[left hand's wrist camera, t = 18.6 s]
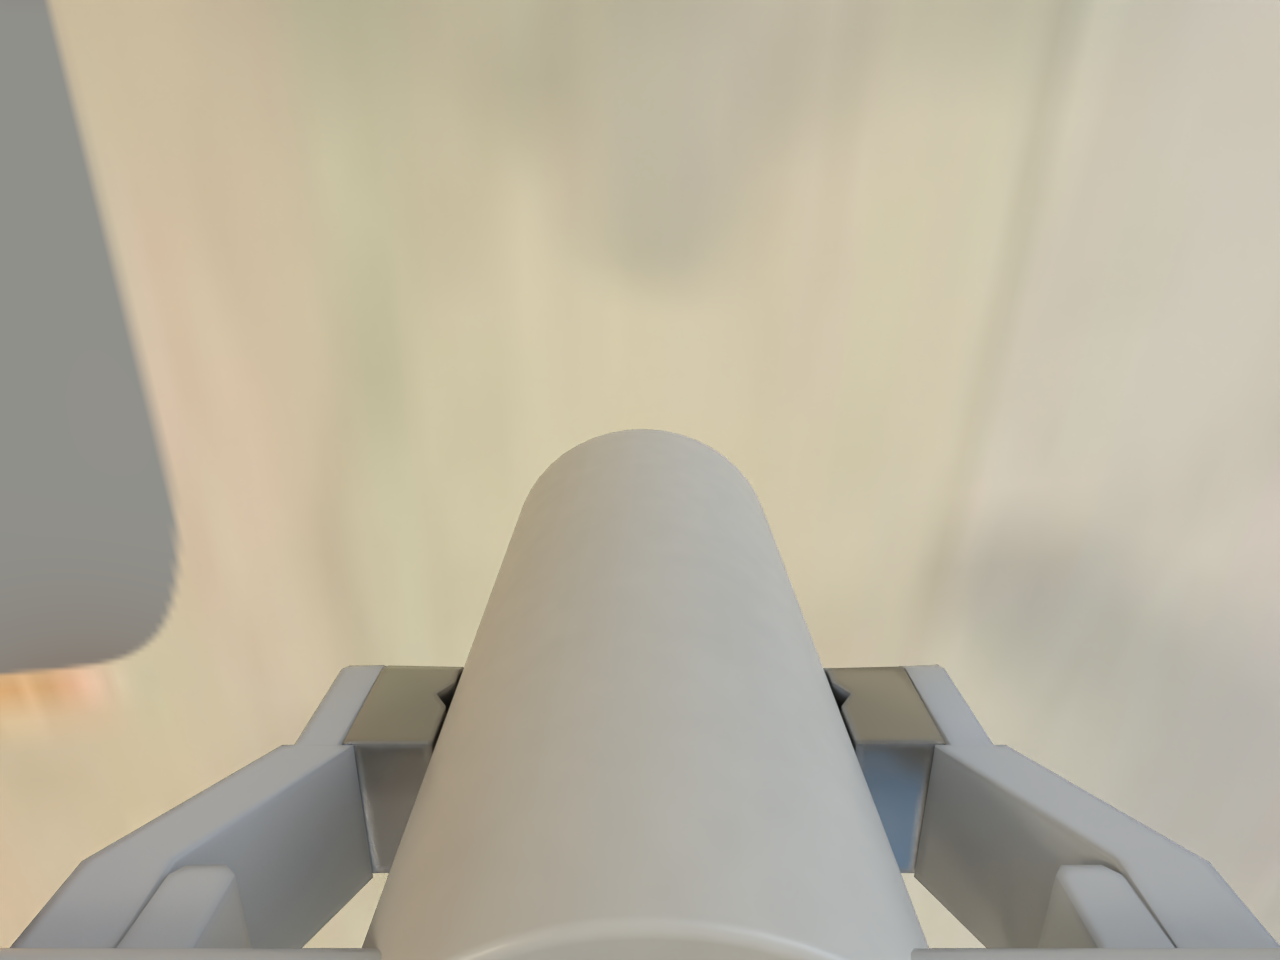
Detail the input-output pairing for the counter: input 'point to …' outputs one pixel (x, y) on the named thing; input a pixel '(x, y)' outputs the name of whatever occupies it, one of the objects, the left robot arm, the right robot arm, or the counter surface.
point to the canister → (644, 744)
